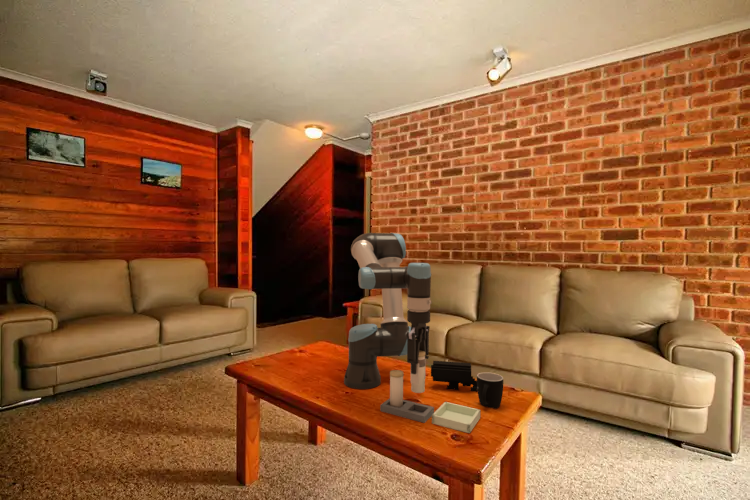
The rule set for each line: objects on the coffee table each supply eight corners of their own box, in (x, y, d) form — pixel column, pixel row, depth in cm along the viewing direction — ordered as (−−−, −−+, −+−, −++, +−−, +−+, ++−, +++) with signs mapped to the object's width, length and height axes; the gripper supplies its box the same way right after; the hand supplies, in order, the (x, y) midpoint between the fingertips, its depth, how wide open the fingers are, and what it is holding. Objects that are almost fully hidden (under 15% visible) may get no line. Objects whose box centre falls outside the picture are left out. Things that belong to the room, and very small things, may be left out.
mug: (480, 397, 135) (481, 370, 135) (506, 403, 130) (506, 375, 130) (470, 409, 124) (470, 380, 124) (497, 416, 120) (497, 385, 120)
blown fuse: (408, 391, 119) (408, 352, 118) (414, 386, 123) (414, 349, 122) (421, 394, 116) (422, 354, 116) (427, 389, 120) (427, 351, 120)
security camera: (479, 394, 138) (479, 368, 138) (430, 390, 142) (430, 364, 142) (478, 387, 145) (478, 362, 145) (431, 383, 148) (431, 359, 148)
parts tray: (431, 424, 113) (431, 415, 113) (444, 410, 124) (445, 401, 124) (469, 435, 107) (469, 424, 107) (480, 419, 118) (480, 409, 118)
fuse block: (380, 412, 122) (380, 373, 122) (391, 403, 129) (391, 366, 129) (424, 424, 114) (424, 382, 114) (434, 414, 121) (434, 375, 121)
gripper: (418, 315, 110) (417, 392, 110) (439, 307, 125) (438, 374, 125) (396, 312, 114) (395, 387, 114) (419, 305, 129) (418, 370, 129)
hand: (418, 380), depth 119 cm, fingers closed on blown fuse, 4 cm apart
